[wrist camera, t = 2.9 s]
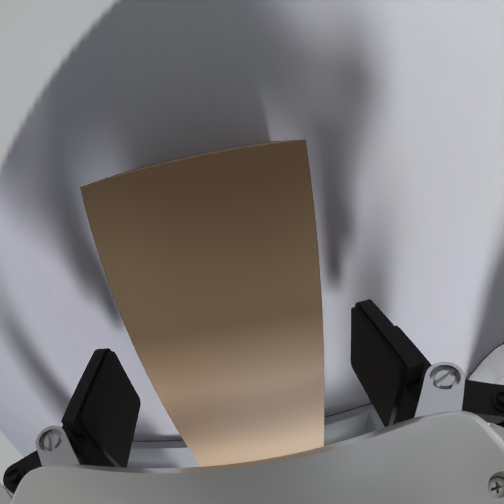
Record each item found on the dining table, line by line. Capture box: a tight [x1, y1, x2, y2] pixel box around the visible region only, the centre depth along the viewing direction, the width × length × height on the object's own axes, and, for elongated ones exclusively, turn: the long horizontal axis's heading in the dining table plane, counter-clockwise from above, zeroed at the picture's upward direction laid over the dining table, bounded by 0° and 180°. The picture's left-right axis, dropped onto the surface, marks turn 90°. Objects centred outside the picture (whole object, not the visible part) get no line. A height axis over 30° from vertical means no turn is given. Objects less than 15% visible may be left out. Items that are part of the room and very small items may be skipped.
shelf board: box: [80, 140, 324, 467], centre depth 11 cm, size 14×5×5 cm, turn 9°
